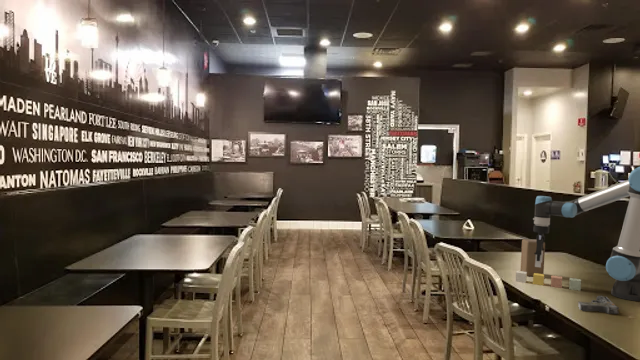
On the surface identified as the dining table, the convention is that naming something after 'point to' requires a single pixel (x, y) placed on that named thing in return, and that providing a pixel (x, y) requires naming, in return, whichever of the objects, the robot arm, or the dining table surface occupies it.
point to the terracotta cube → (556, 281)
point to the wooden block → (530, 257)
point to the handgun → (599, 305)
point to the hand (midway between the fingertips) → (538, 264)
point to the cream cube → (521, 276)
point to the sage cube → (575, 284)
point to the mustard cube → (538, 279)
